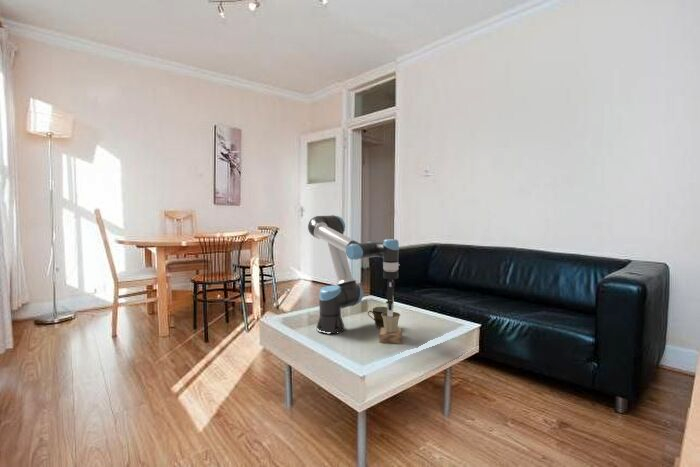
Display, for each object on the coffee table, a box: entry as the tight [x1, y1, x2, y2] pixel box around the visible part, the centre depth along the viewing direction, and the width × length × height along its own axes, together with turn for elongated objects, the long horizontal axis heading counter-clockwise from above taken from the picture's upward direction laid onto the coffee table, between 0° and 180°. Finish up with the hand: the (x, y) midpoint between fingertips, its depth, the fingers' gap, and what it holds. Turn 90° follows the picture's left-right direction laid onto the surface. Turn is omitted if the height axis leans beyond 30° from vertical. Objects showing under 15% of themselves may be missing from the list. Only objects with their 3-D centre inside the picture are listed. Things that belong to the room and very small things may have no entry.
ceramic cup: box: [367, 306, 387, 329], centre depth 199 cm, size 13×10×10 cm
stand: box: [378, 327, 403, 344], centre depth 180 cm, size 11×11×4 cm
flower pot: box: [381, 311, 401, 333], centre depth 180 cm, size 9×9×9 cm
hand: (390, 312), depth 180 cm, fingers open, 13 cm apart
